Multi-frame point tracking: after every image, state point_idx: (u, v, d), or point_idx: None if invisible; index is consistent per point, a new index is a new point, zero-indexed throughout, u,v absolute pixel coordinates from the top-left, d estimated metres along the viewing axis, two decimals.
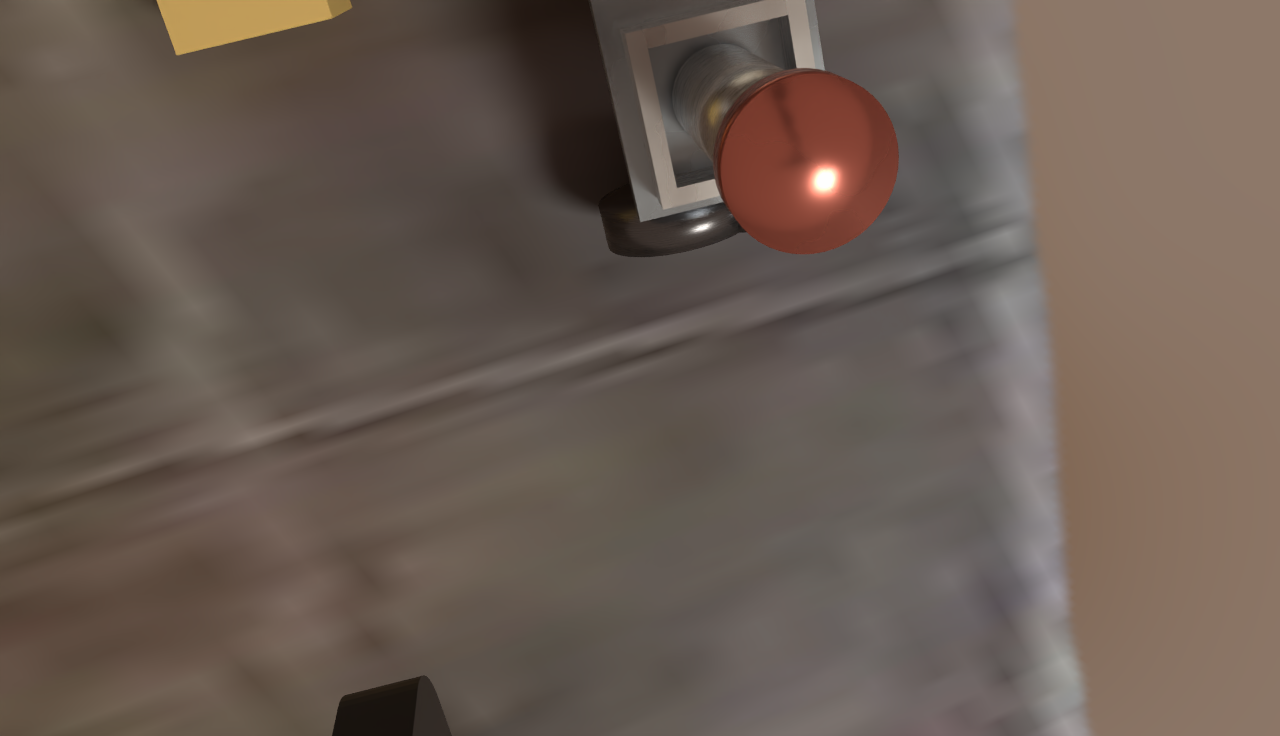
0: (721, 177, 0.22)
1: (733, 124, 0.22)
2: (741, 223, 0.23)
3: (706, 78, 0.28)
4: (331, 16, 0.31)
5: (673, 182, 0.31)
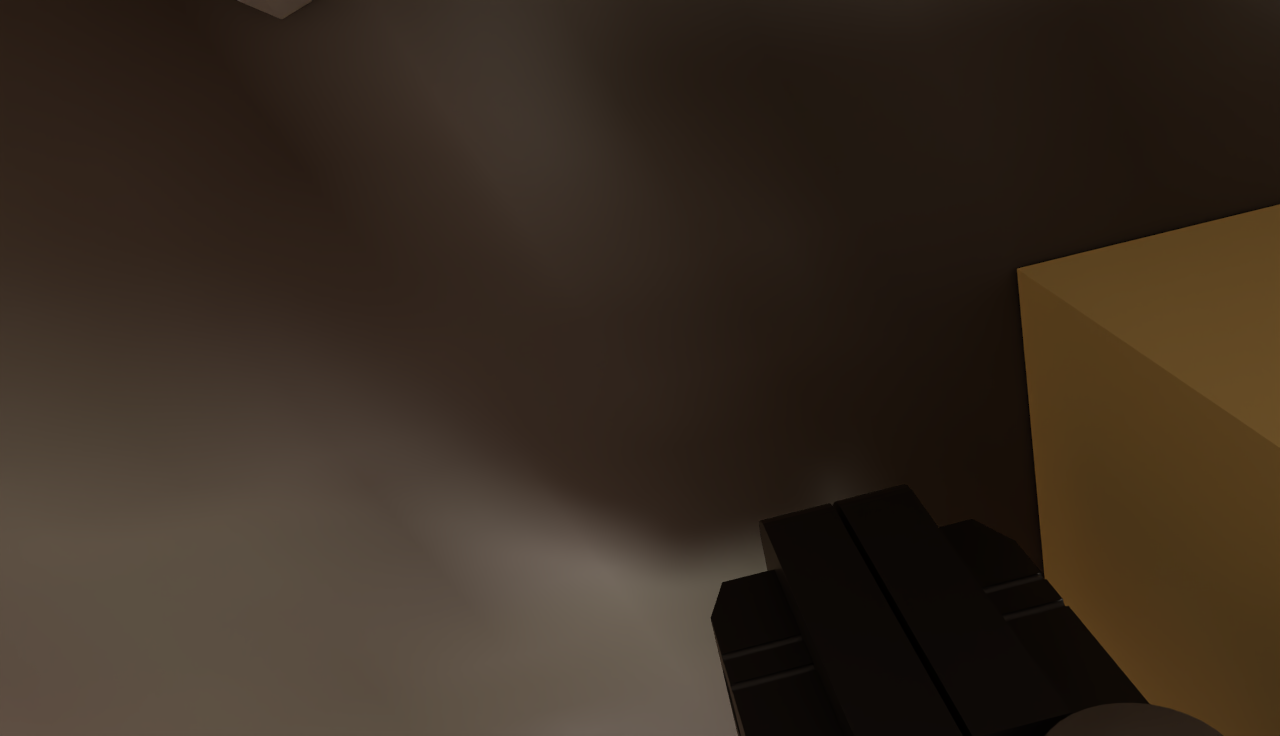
0: None
1: None
2: None
3: None
4: None
5: None
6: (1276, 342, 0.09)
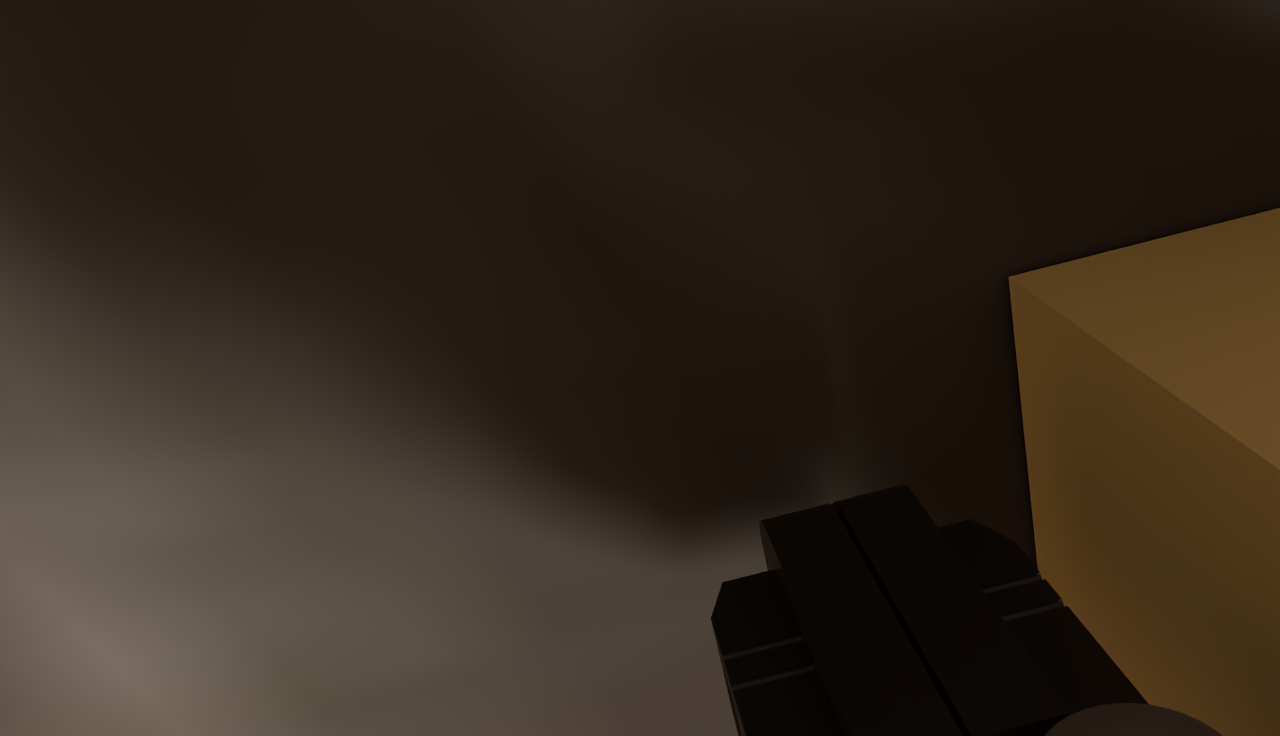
0: None
1: None
2: None
3: None
4: None
5: None
6: (1267, 352, 0.09)
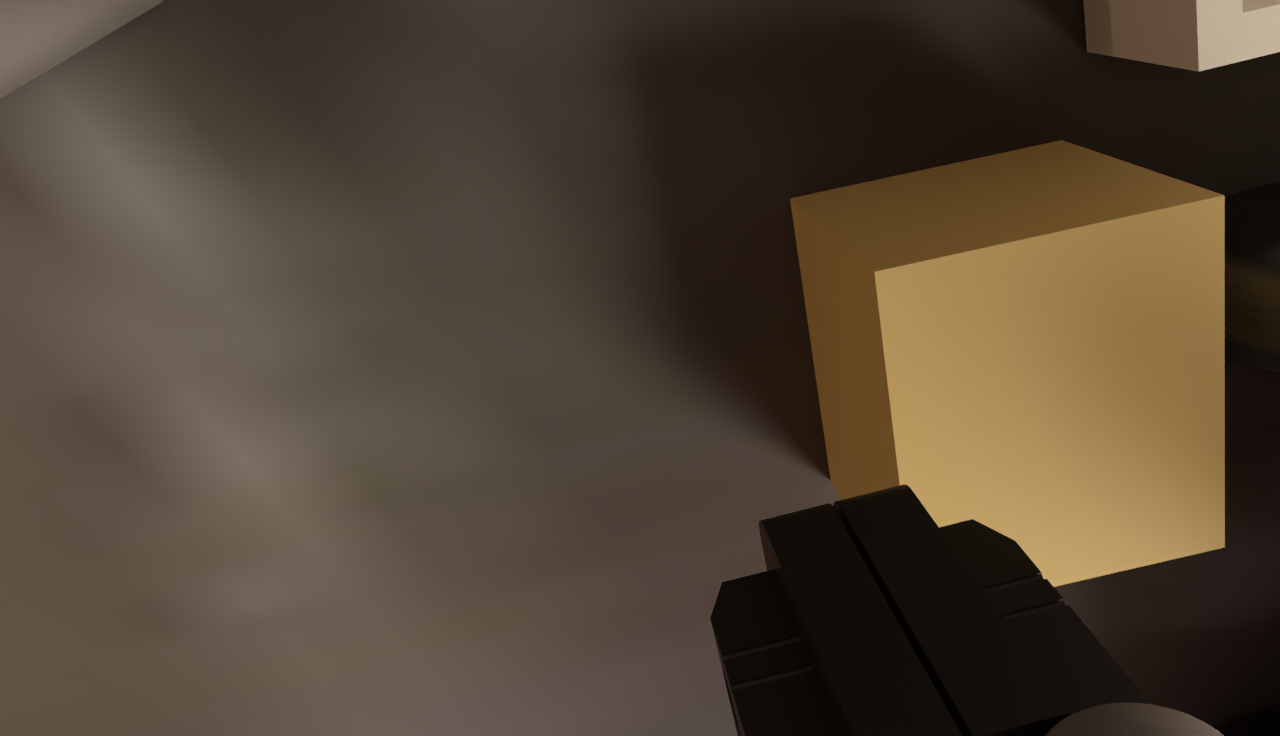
0: None
1: None
2: None
3: None
4: (1221, 542, 0.16)
5: None
6: (903, 225, 0.15)
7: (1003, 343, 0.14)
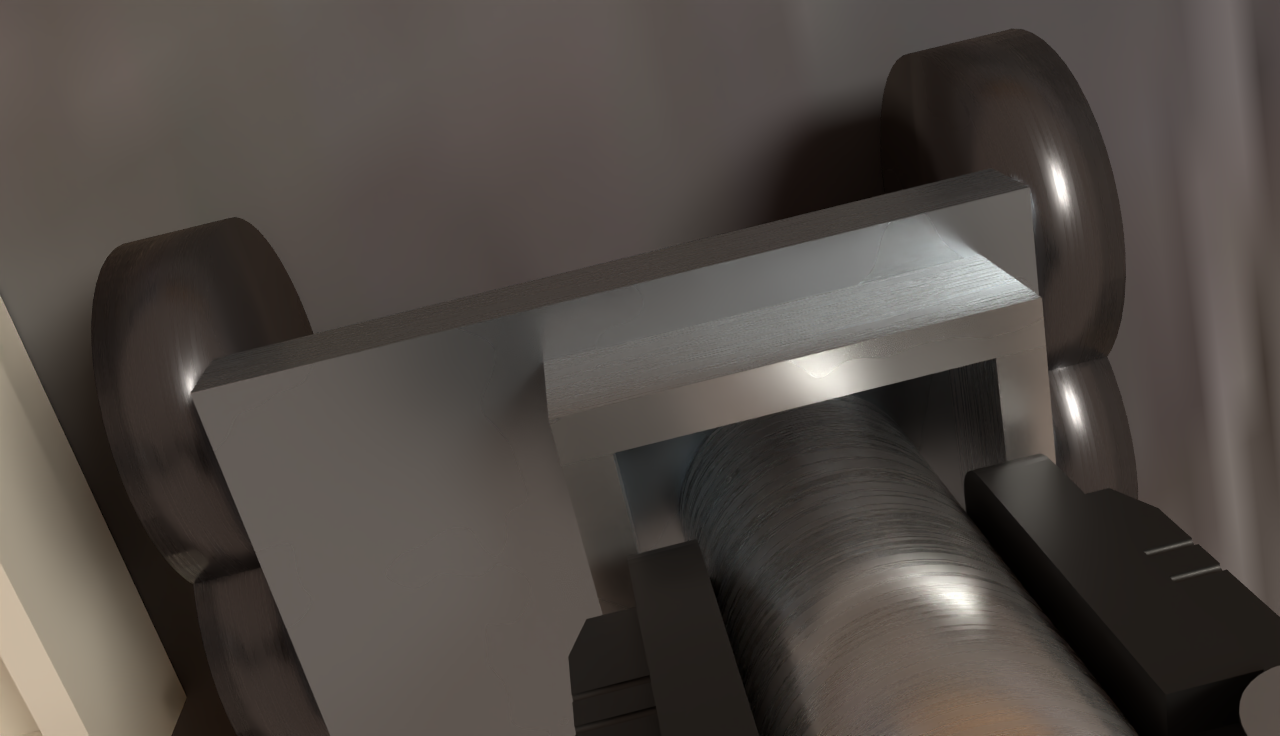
0: None
1: None
2: None
3: None
4: None
5: None
6: None
7: None
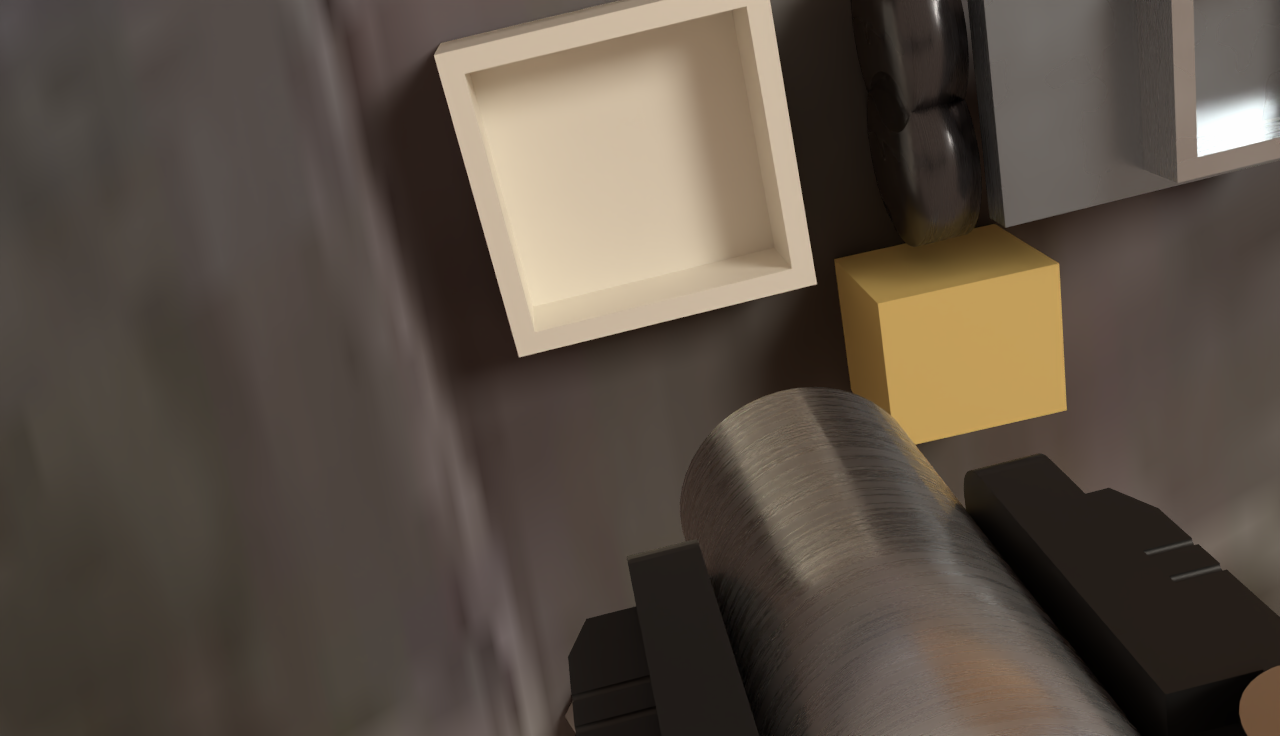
0: None
1: None
2: None
3: None
4: (1056, 263, 0.30)
5: None
6: (873, 397, 0.33)
7: (934, 390, 0.31)
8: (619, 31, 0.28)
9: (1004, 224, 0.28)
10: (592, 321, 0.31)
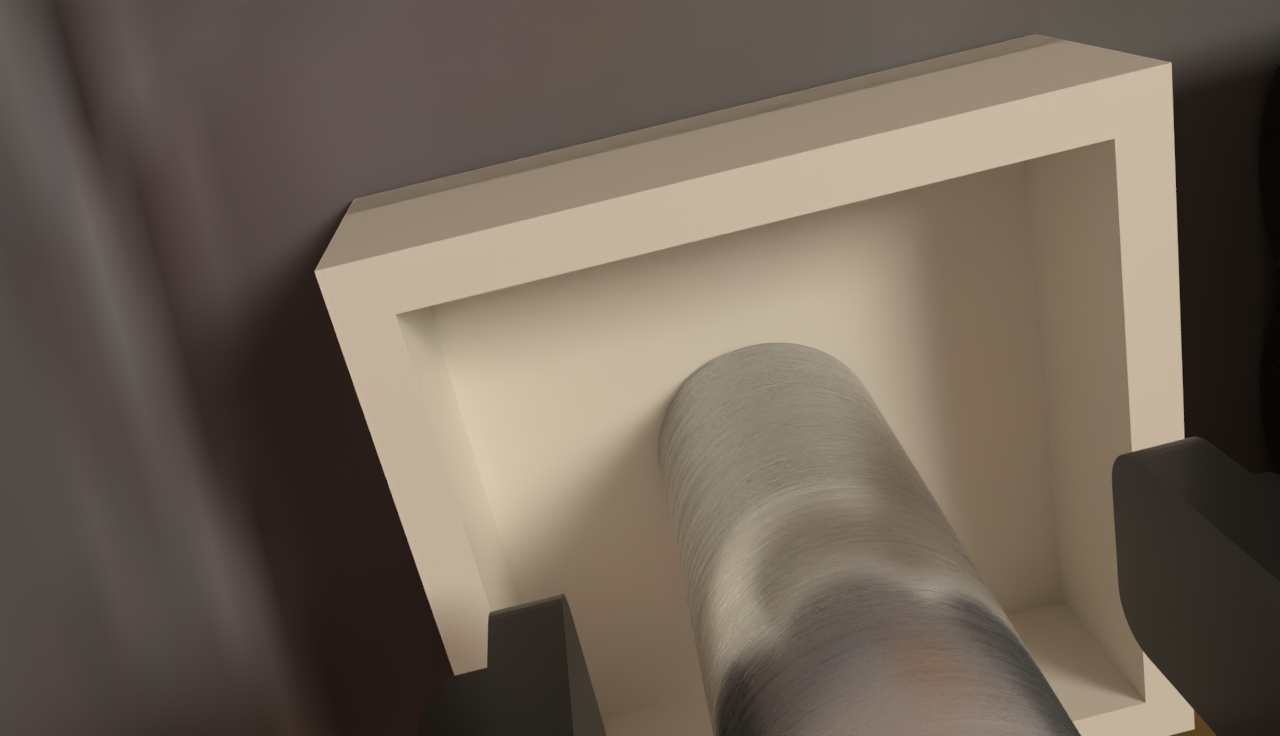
0: None
1: None
2: None
3: None
4: None
5: None
6: None
7: None
8: (792, 204, 0.11)
9: None
10: None
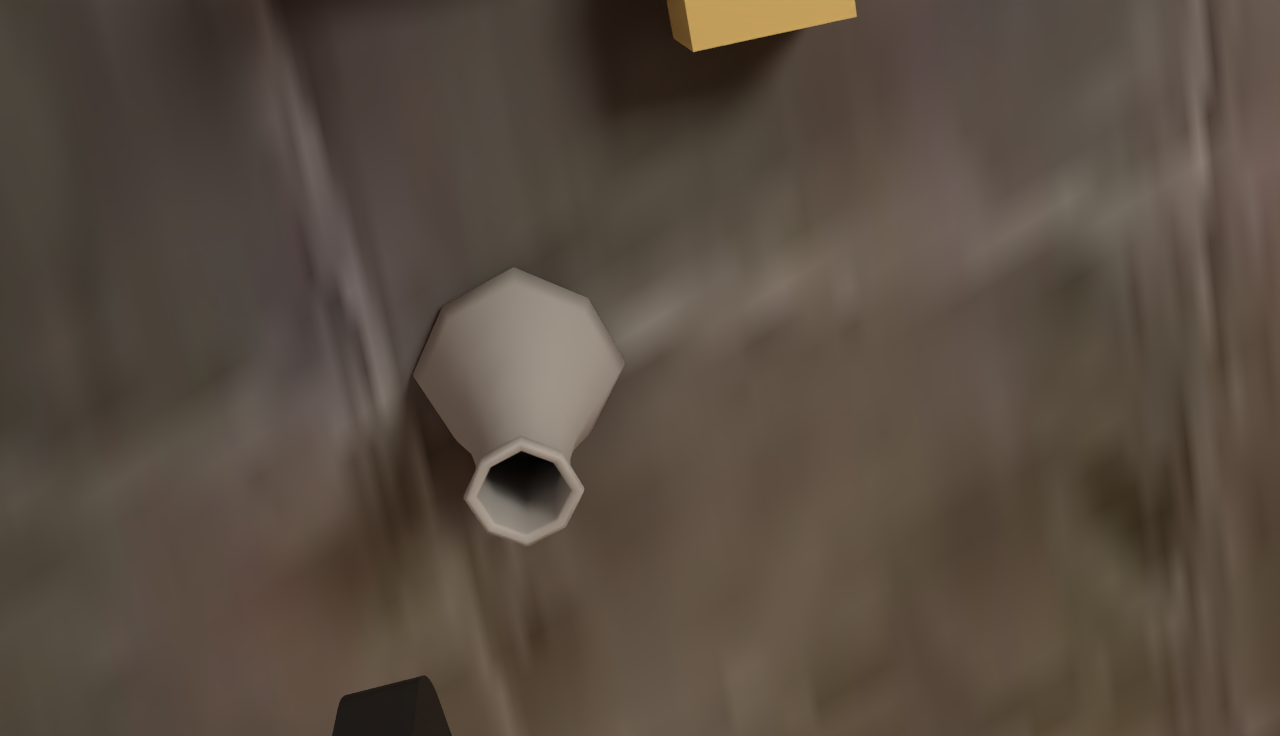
0: None
1: None
2: None
3: None
4: None
5: None
6: (680, 16, 0.35)
7: None
8: None
9: None
10: None
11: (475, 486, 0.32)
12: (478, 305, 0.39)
